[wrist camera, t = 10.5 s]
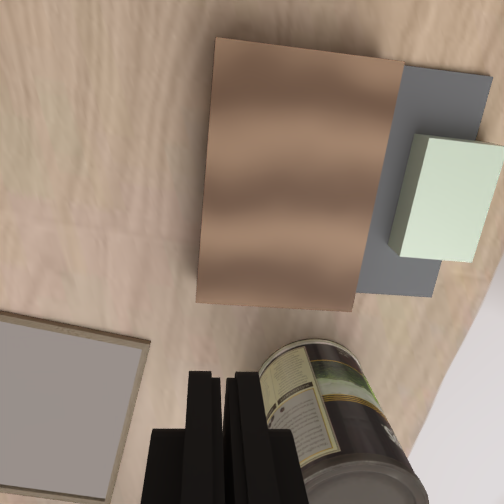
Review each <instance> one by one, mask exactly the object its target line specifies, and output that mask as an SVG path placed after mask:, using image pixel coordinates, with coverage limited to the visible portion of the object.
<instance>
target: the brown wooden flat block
mask: <svg viewBox="0 0 504 504" xmlns="http://www.w3.org/2000/svg"><path fill="white" fill-rule="evenodd" d="M404 64H405V61H397V60H389V59H381V58H374V57H366V56H358V55H351V54H343V53H335V52H327V51H320V50H312V49H304V48H297V47H289V46H281V45H273V44H266V43H258V42H250V41H243V40H235V39H227V38H219V37H216V39H215V49H214V63H213V76H212V89H211V103H210V116H209V129H208V142H207V156H206V169H205V182H204V195H203V209H202V222H201V235H200V248H199V262H198V275H197V290H196V303H207V304H224V305H241V306H258V307H275V308H292V309H309V310H326V311H343V312H352V307H353V303H354V298H355V293H356V289H357V284H358V279H359V275H360V270H361V265H362V260H363V256H364V251H365V246H366V242H367V237H368V232H369V228H370V223H371V218H372V214H373V209H374V204H375V200H376V195H377V190H378V185H379V181H380V176H381V171H382V167H383V162H384V157H385V153H386V148H387V143H388V139H389V134H390V129H391V125H392V120H393V115H394V110H395V106H396V101H397V96H398V92H399V87H400V82H401V78H402V73H403V68H404Z"/></svg>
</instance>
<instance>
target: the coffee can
mask: <svg viewBox="0 0 504 504" xmlns="http://www.w3.org/2000/svg"><path fill="white" fill-rule="evenodd" d="M259 378H260V384H261V390H262V396H263V402H264V408H265V414H266V419H267V425H268V429H290V430H291V431H292V434H293V437H294V442H295V446H296V450H297V454H298V459H299V463H300V467H301V471H302V476H303V480H304V484H305V489H306V493H307V497H308V501H309V504H429V500H428V495H427V493H426V490H425V488H424V486H423V485H422V483H421V481H420V480H419V478H418V477H417V475H416V474H415V473H414V471H413V469H412V467H411V465H410V463H409V461H408V459H407V457H406V456H405V453H404V451H403V450H402V447H401V445H400V443H399V442H398V440H397V438H396V436H395V434H394V432H393V430H392V428H391V426H390V424H389V423H388V421H387V419H386V417H385V415H384V413H383V411H382V409H381V407H380V405H379V403H378V401H377V399H376V397H375V395H374V393H373V392H372V389H371V387H370V386H369V384H368V381H367V380H366V378H365V376H364V374H363V372H362V369H361V366H360V364H359V362H358V360H357V359H356V358H355V356H354V355H353V354H352V353H351V352H350V351H349V350H348V349H346V348H345V347H343V346H341V345H339V344H337V343H334V342H332V341H327V340H321V339H308V340H301V341H297V342H294V343H291V344H289V345H287V346H285V347H283V348H281V349H279V350H278V351H276V352H275V353H274V354H273V355H272V356H270V357H269V358H268V359H267V360H266V362H265V363H264V364H263V366H262V367H261V369H260V371H259Z"/></svg>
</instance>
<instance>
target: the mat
mask: <svg viewBox="0 0 504 504" xmlns="http://www.w3.org/2000/svg"><path fill="white" fill-rule="evenodd" d="M492 80H493V77H490V76H483V75H475V74H467V73H459V72H451V71H444V70H436V69H428V68H420V67H413V66H405V65H404V68H403V73H402V78H401V82H400V87H399V92H398V96H397V101H396V106H395V110H394V115H393V120H392V125H391V129H390V134H389V139H388V143H387V148H386V153H385V157H384V162H383V167H382V171H381V176H380V181H379V185H378V190H377V195H376V200H375V204H374V209H373V214H372V218H371V223H370V228H369V232H368V237H367V242H366V246H365V251H364V256H363V260H362V265H361V270H360V275H359V279H358V284H357V289H356V293H371V294H387V295H403V296H418V297H432V294H433V290H434V287H435V283H436V280H437V276H438V272H439V269H440V265H441V262H442V260H435V259H423V258H411V257H399V256H398V255H397V254H396V253H395V252H394V251H393V250H392V249H391V248H390V247H389V246H388V242H389V238H390V234H391V230H392V225H393V221H394V217H395V213H396V209H397V205H398V200H399V196H400V192H401V188H402V184H403V180H404V175H405V171H406V167H407V163H408V159H409V154H410V150H411V146H412V142H413V138H414V134H423V135H431V136H440V137H448V138H457V139H465V140H473V141H475V140H476V137H477V133H478V130H479V126H480V122H481V119H482V115H483V112H484V108H485V105H486V101H487V97H488V94H489V90H490V87H491V83H492Z"/></svg>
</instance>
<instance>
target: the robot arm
mask: <svg viewBox="0 0 504 504" xmlns="http://www.w3.org/2000/svg"><path fill="white" fill-rule="evenodd" d="M141 504H309V501H308V497H307V493H306V489H305V484H304V480H303V476H302V471H301V467H300V463H299V459H298V454H297V450H296V446H295V442H294V437H293V434H292V431H291V430H290V429H268V425H267V419H266V414H265V408H264V402H263V396H262V390H261V384H260V378H259V373H258V372H236V373H235V378H227V381H226V393H225V406H224V419H223V431H222V412H221V387H220V378H212V374H211V371H189V379H188V395H187V410H186V426H185V429H153V430H152V434H151V440H150V446H149V453H148V459H147V466H146V472H145V478H144V485H143V491H142V498H141Z"/></svg>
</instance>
